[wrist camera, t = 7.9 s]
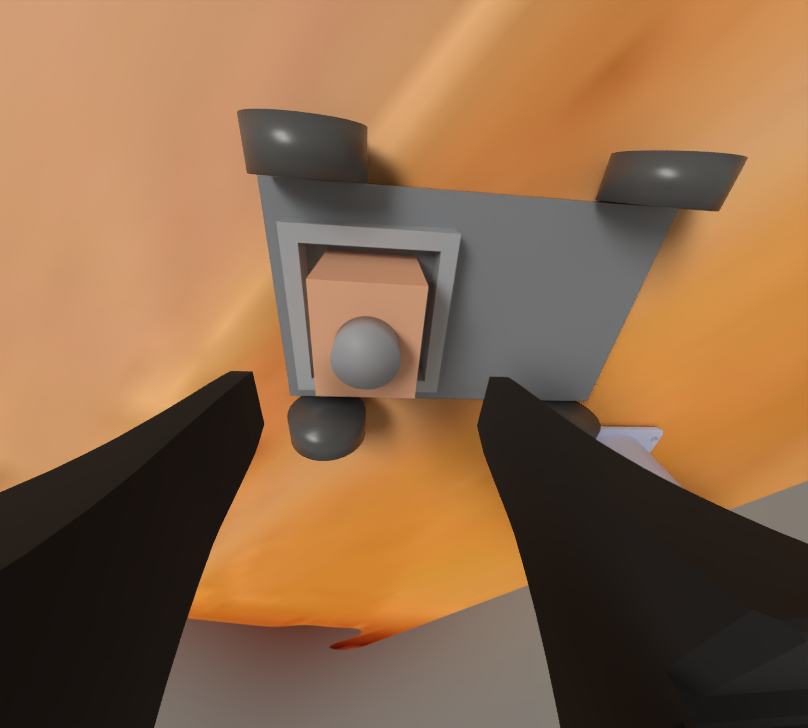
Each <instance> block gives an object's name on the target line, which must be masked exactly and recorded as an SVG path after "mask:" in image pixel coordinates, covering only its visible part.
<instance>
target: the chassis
mask: <svg viewBox="0 0 808 728" xmlns="http://www.w3.org/2000/svg"><path fill="white" fill-rule="evenodd" d="M237 115H238V121H239V127H240V133H241V139H242V145H243V151H244V157H245V164H246V170H247V173H248V174H256V175H257V177H258V184H259V191H260V197H261V204H262V210H263V217H264V224H265V230H266V237H267V243H268V250H269V257H270V263H271V270H272V277H273V283H274V290H275V296H276V303H277V310H278V316H279V323H280V330H281V336H282V343H283V349H284V356H285V363H286V369H287V376H288V382H289V389H290V396H301V397H300V398H298V399H297V400H296V401H295V402H294V403H293V404H292V405H291V407H290V409H289V411H288V416H287V417H288V424H289V430H290V436H291V442H292V445H293V447H294V449H295V450H296V451H297V452H298V453H299V454H300V455H302V456H304V457H306V458H308V459H312V460H317V461H330V460H335V459H339V458H342V457H345V456H347V455H349V454H350V453H352V452H353V451H355V450H356V449H357V448H358V447H359V446H360V445H361V443H362V442H363V440H364V437H365V405H364V403H363V401H362V400H361V399H360V398H359V397H337V396H316V392H315V380H314V368H313V357H312V345H311V333H310V321H309V310H308V298H307V286H306V278H307V277H308V275H309V274H310V273H311V271H312V270H313V268H314V267H315V266H316V264H317V263H318V262H319V260H320V259H321V257H322V256H323V255H324V253H325V252H326V251H327V250H339V251H354V252H368V253H382V254H396V255H411V256H416V258H417V260H418V262H419V265H420V267H421V270H422V272H423V274H424V277H425V279H426V282H427V284H428V294H427V302H426V310H425V318H424V326H423V335H422V343H421V351H420V359H419V367H418V375H417V383H416V391H415V398H442V399H484V397H485V393H486V389H487V385H488V381H489V377H509V378H511V379H512V380H514V381H515V382H517V383H518V384H520V385H521V386H522V387H524V388H525V389H526V390H528V391H529V392H530V393H532V394H533V395H534V396H536V397H537V398H538V399H540V400H541V401H542V402H544V403H545V404H546V405H548V406H549V407H551V408H552V409H553V410H555V411H556V412H557V413H559V414H560V415H561V416H563V417H564V418H566V419H567V420H568V421H570V422H571V423H573V424H574V425H576V426H577V427H578V428H580V429H581V430H583V431H585V432H586V433H588V434H589V435H591V436H592V437H594V438H595V439H596V438H597V436H598V434H599V432H600V429H601V426H600V423H599V420H598V419H597V417H596V416H595V415H594V414H593V413H592V412H591V411H590V410H589V409H588V408H586V407H585V406H584V405H582V404H580V403H579V402H577V401H587V400H588V398H589V395H590V393H591V391H592V389H593V387H594V385H595V383H596V381H597V379H598V377H599V374H600V372H601V370H602V368H603V366H604V364H605V362H606V360H607V358H608V356H609V354H610V351H611V349H612V347H613V345H614V343H615V341H616V339H617V337H618V335H619V333H620V331H621V328H622V326H623V324H624V322H625V320H626V318H627V316H628V314H629V312H630V310H631V308H632V305H633V303H634V301H635V299H636V297H637V295H638V293H639V291H640V289H641V287H642V284H643V282H644V280H645V278H646V276H647V274H648V272H649V270H650V268H651V266H652V264H653V261H654V259H655V257H656V255H657V253H658V251H659V249H660V247H661V245H662V243H663V241H664V238H665V236H666V234H667V232H668V230H669V228H670V226H671V224H672V222H673V220H674V218H675V215H676V213H677V211H678V209H677V208H680V209H692V210H705V211H719V210H720V209H721V207H722V205H723V203H724V201H725V199H726V198H727V196H728V194H729V192H730V190H731V188H732V186H733V185H734V183H735V181H736V179H737V177H738V175H739V174H740V172H741V170H742V168H743V166H744V164H745V162H746V161H747V159H748V157H745V156H741V155H735V154H726V153H715V152H698V151H625V152H616V153H612V154H611V157H610V159H609V162H608V165H607V168H606V171H605V174H604V177H603V180H602V182H601V185H600V188H599V191H598V194H597V197H596V200H600V201H608V202H617V203H607V202H595V201H582V200H570V199H557V198H544V197H532V196H519V195H507V194H494V193H481V192H469V191H456V190H444V189H431V188H418V187H406V186H393V185H380V184H368V183H355V182H367V126H365V125H363V124H361V123H358V122H354V121H351V120H346V119H342V118H337V117H332V116H326V115H320V114H313V113H305V112H297V111H287V110H274V109H243V110H239V111H237ZM343 181H345V182H343ZM620 203H627V204H620ZM633 204H637V205H633ZM645 205H647V206H645ZM668 207H669V208H668Z"/></svg>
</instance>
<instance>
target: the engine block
mask: <svg viewBox="0 0 808 728" xmlns="http://www.w3.org/2000/svg"><path fill="white" fill-rule="evenodd" d="M306 286H307V298H308V310H309V321H310V333H311V345H312V357H313V368H314V380H315V392H316V396H337V397H375V398H413V399H415V391H416V383H417V375H418V367H419V359H420V351H421V343H422V335H423V326H424V318H425V310H426V302H427V294H428V284H427V282H426V279H425V277H424V274H423V272H422V270H421V267H420V265H419V262H418V260H417V258H416V256H411V255H396V254H382V253H368V252H354V251H339V250H327V251H326V252H325V253H324V255H323V256H322V257H321V259H320V260H319V262H318V263H317V264H316V266H315V267H314V268H313V270H312V271H311V273H310V274H309V275H308V277H307V278H306Z"/></svg>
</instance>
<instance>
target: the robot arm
mask: <svg viewBox="0 0 808 728" xmlns="http://www.w3.org/2000/svg"><path fill="white" fill-rule="evenodd" d="M263 427H264V420H263V416H262V412H261V407H260V403H259V398H258V394H257V389H256V385H255V381H254V376H253V372H248V371H230V372H228V373H226V374H224V375H223V376H221V377H219V378H217V379H216V380H214V381H212V382H211V383H209V384H207V385H206V386H204V387H203V388H201V389H199V390H198V391H196V392H194V393H193V394H191V395H190V396H188V397H186V398H185V399H183V400H181V401H180V402H178V403H176V404H175V405H173V406H171V407H170V408H168V409H167V410H165V411H163V412H162V413H160V414H158V415H156V416H154V417H153V418H151V419H149V420H147V421H146V422H144V423H142V424H140V425H139V426H137V427H135V428H133V429H131V430H130V431H128V432H126V433H124V434H123V435H121V436H119V437H117V438H115V439H113V440H112V441H110V442H108V443H106V444H104V445H102V446H100V447H98V448H96V449H94V450H92V451H90V452H88V453H86V454H84V455H82V456H80V457H78V458H76V459H74V460H72V461H70V462H67V463H65V464H63V465H61V466H59V467H57V468H55V469H53V470H51V471H48V472H46V473H44V474H42V475H39V476H37V477H35V478H32V479H30V480H28V481H25V482H23V483H21V484H18V485H16V486H14V487H11V488H9V489H7V490H5V491H2V492H0V728H154V726H155V722H156V719H157V715H158V712H159V708H160V705H161V701H162V697H163V694H164V690H165V687H166V684H167V680H168V677H169V674H170V671H171V667H172V664H173V661H174V658H175V655H176V651H177V648H178V645H179V642H180V638H181V635H182V632H183V629H184V626H185V623H186V620H187V617H188V614H189V611H190V608H191V605H192V602H193V599H194V596H195V593H196V590H197V587H198V584H199V582H200V579H201V576H202V573H203V571H204V568H205V565H206V562H207V560H208V557H209V554H210V551H211V549H212V546H213V543H214V541H215V539H216V536H217V534H218V532H219V529H220V527H221V525H222V523H223V521H224V518H225V516H226V514H227V512H228V510H229V508H230V506H231V504H232V502H233V500H234V497H235V495H236V493H237V491H238V489H239V487H240V485H241V483H242V481H243V479H244V477H245V474H246V472H247V470H248V468H249V466H250V464H251V462H252V459H253V457H254V455H255V452H256V449H257V446H258V443H259V440H260V437H261V433H262V430H263ZM477 427H478V431H479V436H480V440H481V444H482V448H483V452H484V455H485V458H486V461H487V463H488V466H489V469H490V471H491V474H492V477H493V479H494V482H495V484H496V487H497V489H498V492H499V495H500V497H501V500H502V502H503V505H504V507H505V510H506V513H507V515H508V518H509V520H510V523H511V526H512V529H513V532H514V535H515V538H516V541H517V545H518V549H519V552H520V556H521V559H522V563H523V566H524V570H525V574H526V577H527V581H528V585H529V589H530V593H531V596H532V601H533V604H534V609H535V612H536V616H537V621H538V625H539V630H540V634H541V638H542V642H543V647H544V651H545V655H546V660H547V664H548V669H549V674H550V679H551V684H552V688H553V693H554V698H555V703H556V708H557V712H558V717H559V723H560V728H808V544H807V543H805V542H802V541H800V540H797V539H795V538H792V537H790V536H787V535H784V534H782V533H779V532H777V531H775V530H773V529H770V528H768V527H765V526H763V525H761V524H759V523H756V522H754V521H752V520H749V519H747V518H745V517H743V516H741V515H738V514H736V513H734V512H732V511H729V510H727V509H725V508H723V507H721V506H719V505H716V504H714V503H712V502H710V501H708V500H706V499H704V498H702V497H699V496H697V495H695V494H693V493H691V492H689V491H687V490H685V489H684V488H683V487H682V486H681V485H680V484H679V483H678V482H677V481H676V480H675V479H674V478H673V477H672V476H671V475H670V474H669V473H668V472H667V471H666V470H665V469H664V468H663V467H662V466H661V465H660V463H659V462H658V461H657V460H656V459H655V458H654V457H653V456H652V455H651V454H650V452H651V451H652V449H653V448H654V446H655V445H656V443H657V442H658V441H659V439H660V438H661V436H662V435H663V431H662V430H661V429H660V428H659V427H613V426H601V429H600V432H599V434H598V436H597V438H596V439H595V438H594V437H592V436H591V435H589V434H588V433H586V432H585V431H583V430H581V429H580V428H578V427H577V426H576V425H574V424H573V423H571V422H570V421H568V420H567V419H566V418H564V417H563V416H561V415H560V414H559V413H557V412H556V411H555V410H553V409H552V408H551V407H549V406H548V405H546V404H545V403H544V402H542V401H541V400H540V399H538V398H537V397H536V396H534V395H533V394H532V393H530V392H529V391H528V390H526V389H525V388H524V387H522V386H521V385H520V384H518V383H517V382H515V381H514V380H512V379H511V378H509V377H489V381H488V385H487V389H486V393H485V397H484V401H483V405H482V409H481V413H480V417H479V421H478V425H477Z"/></svg>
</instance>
